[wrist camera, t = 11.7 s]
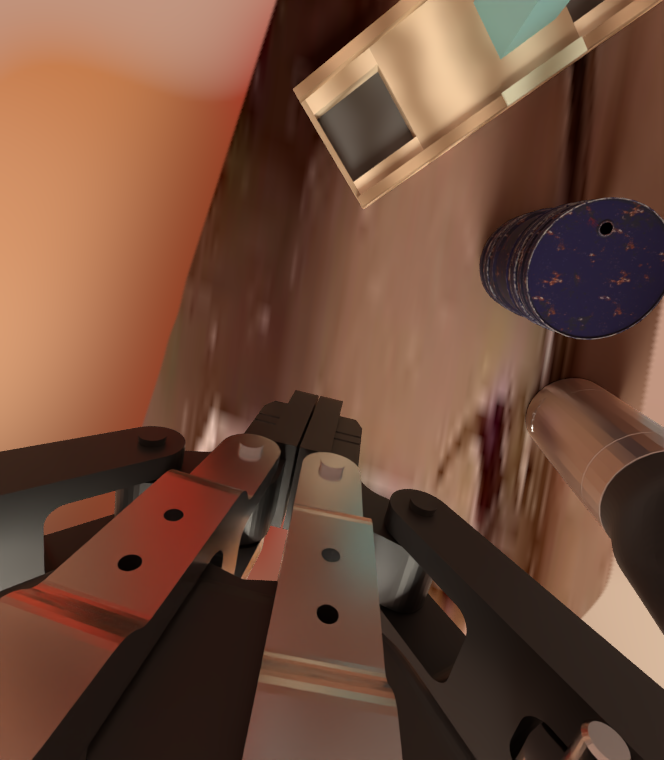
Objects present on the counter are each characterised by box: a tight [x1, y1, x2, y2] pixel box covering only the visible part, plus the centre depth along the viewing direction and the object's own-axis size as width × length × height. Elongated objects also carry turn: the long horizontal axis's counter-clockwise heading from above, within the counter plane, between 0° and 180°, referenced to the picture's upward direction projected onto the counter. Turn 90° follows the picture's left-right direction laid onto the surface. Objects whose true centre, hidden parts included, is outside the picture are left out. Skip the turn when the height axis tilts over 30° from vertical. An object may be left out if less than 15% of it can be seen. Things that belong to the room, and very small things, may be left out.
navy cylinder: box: [480, 197, 664, 340], centre depth 36 cm, size 10×10×15 cm
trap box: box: [293, 0, 663, 210], centre depth 37 cm, size 30×12×3 cm, turn 123°
